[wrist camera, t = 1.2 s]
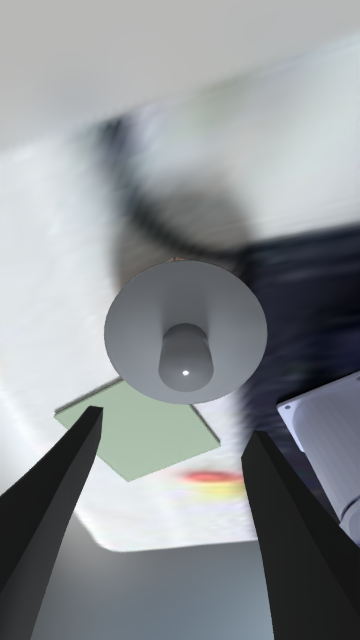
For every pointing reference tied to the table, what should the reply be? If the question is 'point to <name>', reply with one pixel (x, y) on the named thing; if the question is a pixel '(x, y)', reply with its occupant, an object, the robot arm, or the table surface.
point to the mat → (142, 431)
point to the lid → (185, 332)
